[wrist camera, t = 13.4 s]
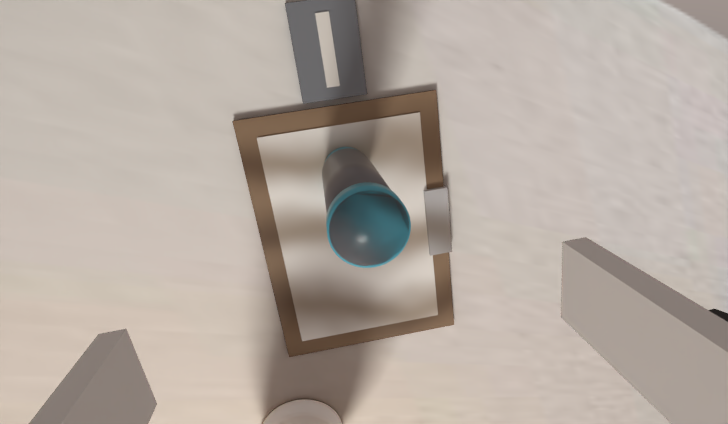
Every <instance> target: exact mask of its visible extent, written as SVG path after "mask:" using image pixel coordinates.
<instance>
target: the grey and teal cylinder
mask: <svg viewBox="0 0 728 424" xmlns="http://www.w3.org/2000/svg"><path fill="white" fill-rule="evenodd" d="M322 181H323V189H324V197H325V205H326V212H327V216H326V228H327V237H328V241H329V244H330V246H331V248H332V250H333V251H334V252H335V254H336V255H337V256H338V257H339V258H340V259H342V260H343V261H344V262H346V263H348V264H350V265H353V266H356V267H362V268H372V267H378V266H381V265H384V264H386V263H388V262H390V261H391V260H393V259H394V258H396V257H397V256H398V255H399V254H400V253H401V252H402V250H403V249H404V247H405V246H406V244H407V242H408V239H409V236H410V232H411V221H410V216H409V213H408V211H407V209H406V207H405V205H404V204H403V203H402V201H401V200H400V198H399V197H398V196H397V195H396V194H395V193H394V192H393V191H392V190H391V189H390V188H389V186H388V185H387V184H386V182H385V181H384V179H383V178H382V177H381V175H380V174H379V172H378V171H377V169H376V168H375V167H374V165H373V164H372V162H371V161H370V160H369V158H368V157H367V156H366V155H365V154H364V153H362V152H361V151H358V150H357V149H355V148H352V147H340V148H337V149H335V150H333V151H332V152H331V153H330V154H329V155H328V156H327V158H326V160H325V163H324V165H323V169H322Z"/></svg>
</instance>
